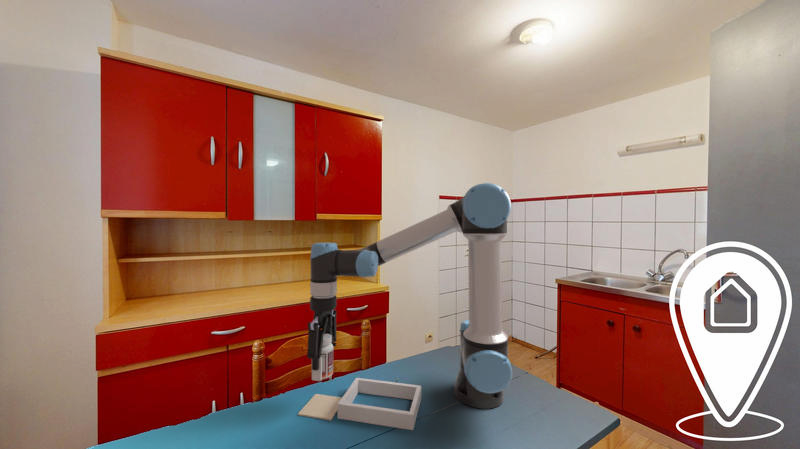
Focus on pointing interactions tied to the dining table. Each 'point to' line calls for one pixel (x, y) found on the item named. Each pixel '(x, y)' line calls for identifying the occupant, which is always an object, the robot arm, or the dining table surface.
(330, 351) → the pill bottle
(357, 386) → the bin
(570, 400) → the dining table surface
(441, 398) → the dining table surface
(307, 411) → the mat
